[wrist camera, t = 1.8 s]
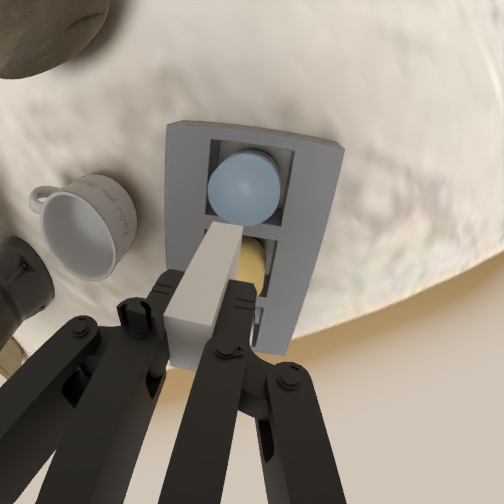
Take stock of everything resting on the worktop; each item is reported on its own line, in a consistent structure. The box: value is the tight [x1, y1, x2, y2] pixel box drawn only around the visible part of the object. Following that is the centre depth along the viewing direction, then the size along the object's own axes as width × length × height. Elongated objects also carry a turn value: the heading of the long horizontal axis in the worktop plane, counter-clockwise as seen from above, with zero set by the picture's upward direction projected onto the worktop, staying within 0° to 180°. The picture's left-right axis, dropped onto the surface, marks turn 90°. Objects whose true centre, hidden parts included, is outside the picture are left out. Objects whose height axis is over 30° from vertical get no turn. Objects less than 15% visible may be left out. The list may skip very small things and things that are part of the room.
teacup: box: [29, 175, 137, 281], centre depth 27 cm, size 14×11×8 cm
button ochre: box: [236, 235, 266, 297], centre depth 27 cm, size 6×6×4 cm
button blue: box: [208, 149, 280, 226], centre depth 23 cm, size 6×6×4 cm
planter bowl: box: [0, 337, 22, 380], centre depth 54 cm, size 16×16×11 cm
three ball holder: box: [165, 120, 345, 356], centre depth 29 cm, size 15×26×4 cm, turn 173°
